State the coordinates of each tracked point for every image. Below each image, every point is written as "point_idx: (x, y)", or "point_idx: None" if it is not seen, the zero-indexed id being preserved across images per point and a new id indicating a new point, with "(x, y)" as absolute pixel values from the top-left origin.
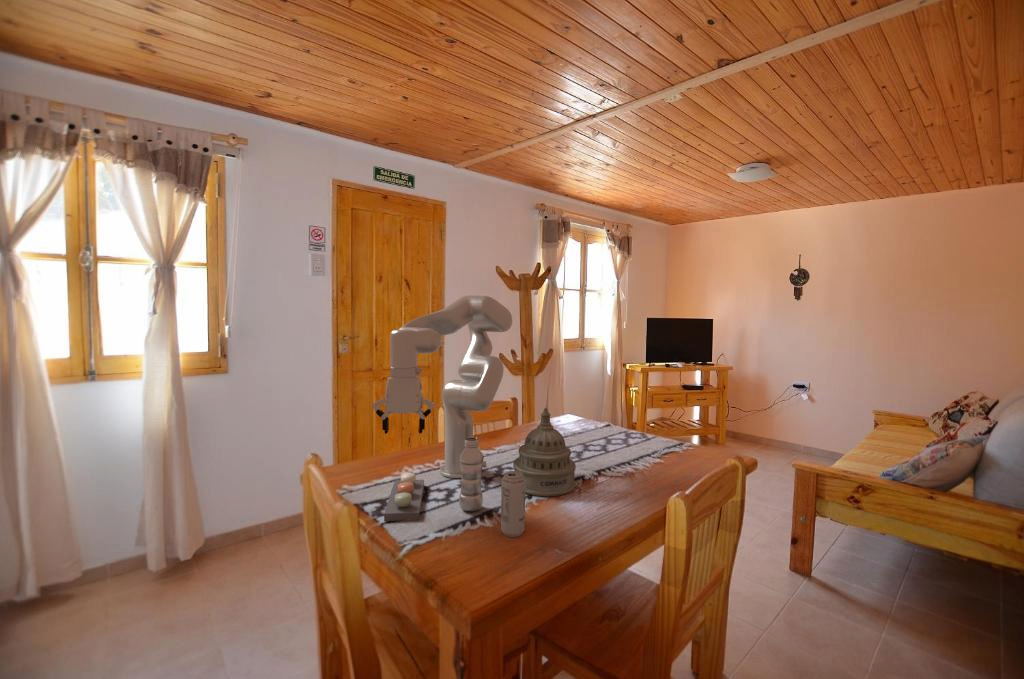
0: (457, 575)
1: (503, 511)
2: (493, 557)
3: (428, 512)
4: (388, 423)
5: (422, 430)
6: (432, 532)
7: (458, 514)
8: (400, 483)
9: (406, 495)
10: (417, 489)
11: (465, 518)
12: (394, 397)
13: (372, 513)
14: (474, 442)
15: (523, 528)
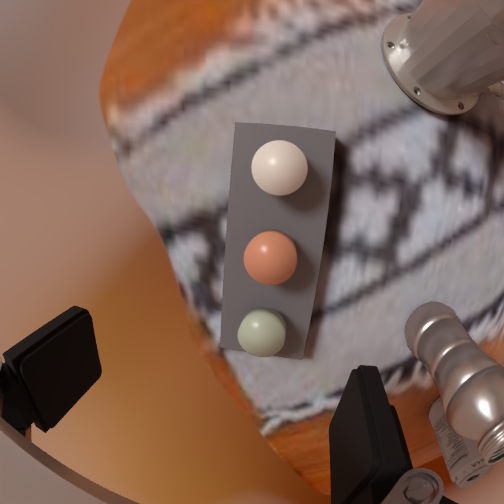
0: (328, 470)
1: (438, 441)
2: None
3: (329, 320)
4: (54, 354)
5: (373, 368)
6: (321, 396)
7: (392, 340)
8: (251, 241)
9: (270, 338)
10: (311, 213)
11: (399, 358)
12: None
13: (193, 294)
14: (498, 457)
15: None
